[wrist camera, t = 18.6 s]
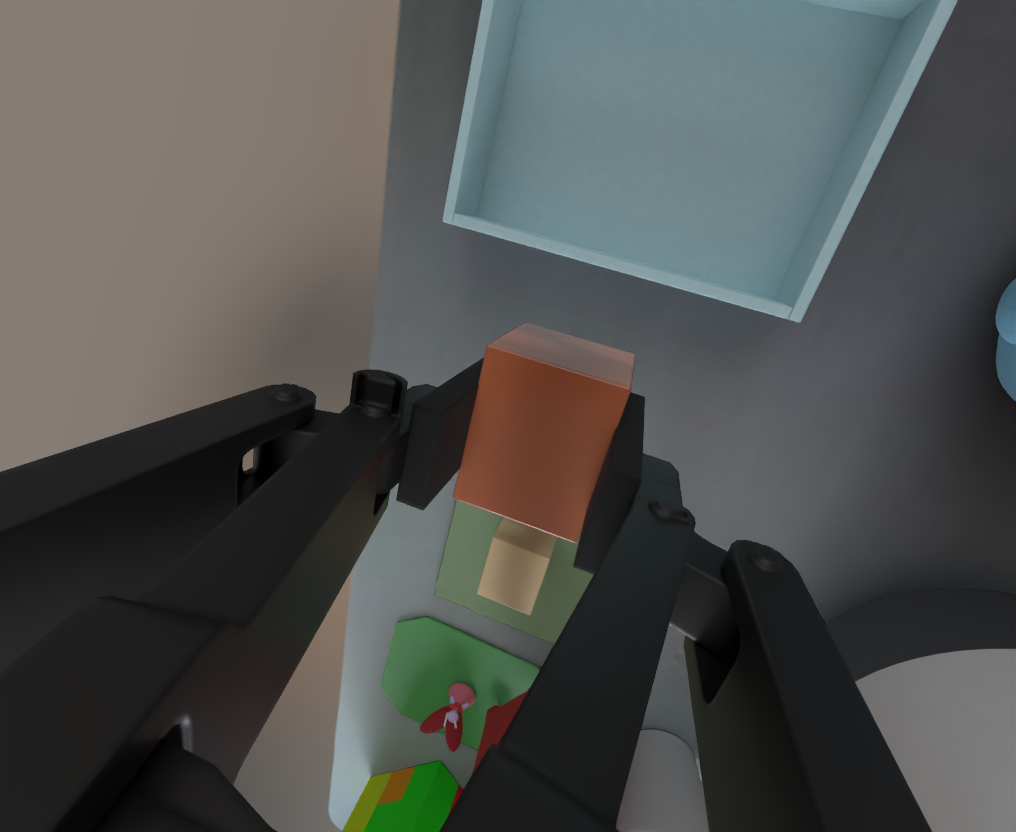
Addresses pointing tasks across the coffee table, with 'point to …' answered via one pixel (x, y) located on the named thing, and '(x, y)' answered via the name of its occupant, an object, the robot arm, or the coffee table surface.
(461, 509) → the mat
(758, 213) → the box
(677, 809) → the cup
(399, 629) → the low-poly diorama
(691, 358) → the coffee table surface
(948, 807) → the planter
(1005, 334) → the teapot
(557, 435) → the terracotta piece
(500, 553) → the birch piece
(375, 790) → the puzzle toy
